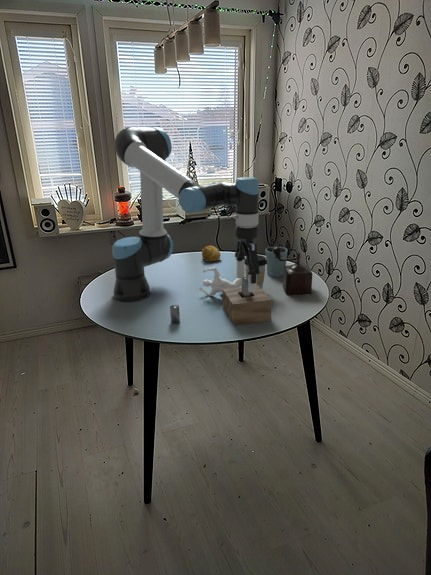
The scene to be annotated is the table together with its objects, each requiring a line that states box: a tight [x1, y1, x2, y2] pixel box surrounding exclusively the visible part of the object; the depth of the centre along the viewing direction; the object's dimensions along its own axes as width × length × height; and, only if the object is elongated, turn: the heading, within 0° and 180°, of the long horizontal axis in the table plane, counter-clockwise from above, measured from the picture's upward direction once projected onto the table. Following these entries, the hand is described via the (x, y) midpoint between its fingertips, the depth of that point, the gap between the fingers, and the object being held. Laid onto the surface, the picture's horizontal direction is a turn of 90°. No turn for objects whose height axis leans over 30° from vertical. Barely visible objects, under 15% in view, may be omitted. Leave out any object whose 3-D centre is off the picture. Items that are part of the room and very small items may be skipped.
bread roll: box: [201, 245, 221, 263], centre depth 200 cm, size 13×10×8 cm
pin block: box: [222, 285, 273, 326], centre depth 138 cm, size 14×14×8 cm
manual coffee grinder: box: [272, 246, 313, 296], centre depth 157 cm, size 16×11×18 cm
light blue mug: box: [264, 246, 288, 278], centre depth 176 cm, size 10×10×12 cm
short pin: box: [169, 304, 181, 325], centre depth 134 cm, size 3×3×6 cm
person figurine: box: [198, 267, 246, 297], centre depth 153 cm, size 13×13×18 cm
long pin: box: [242, 277, 251, 298], centre depth 137 cm, size 3×3×14 cm
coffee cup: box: [243, 254, 267, 290], centre depth 156 cm, size 9×9×15 cm
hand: (246, 284), depth 135 cm, fingers open, 13 cm apart
